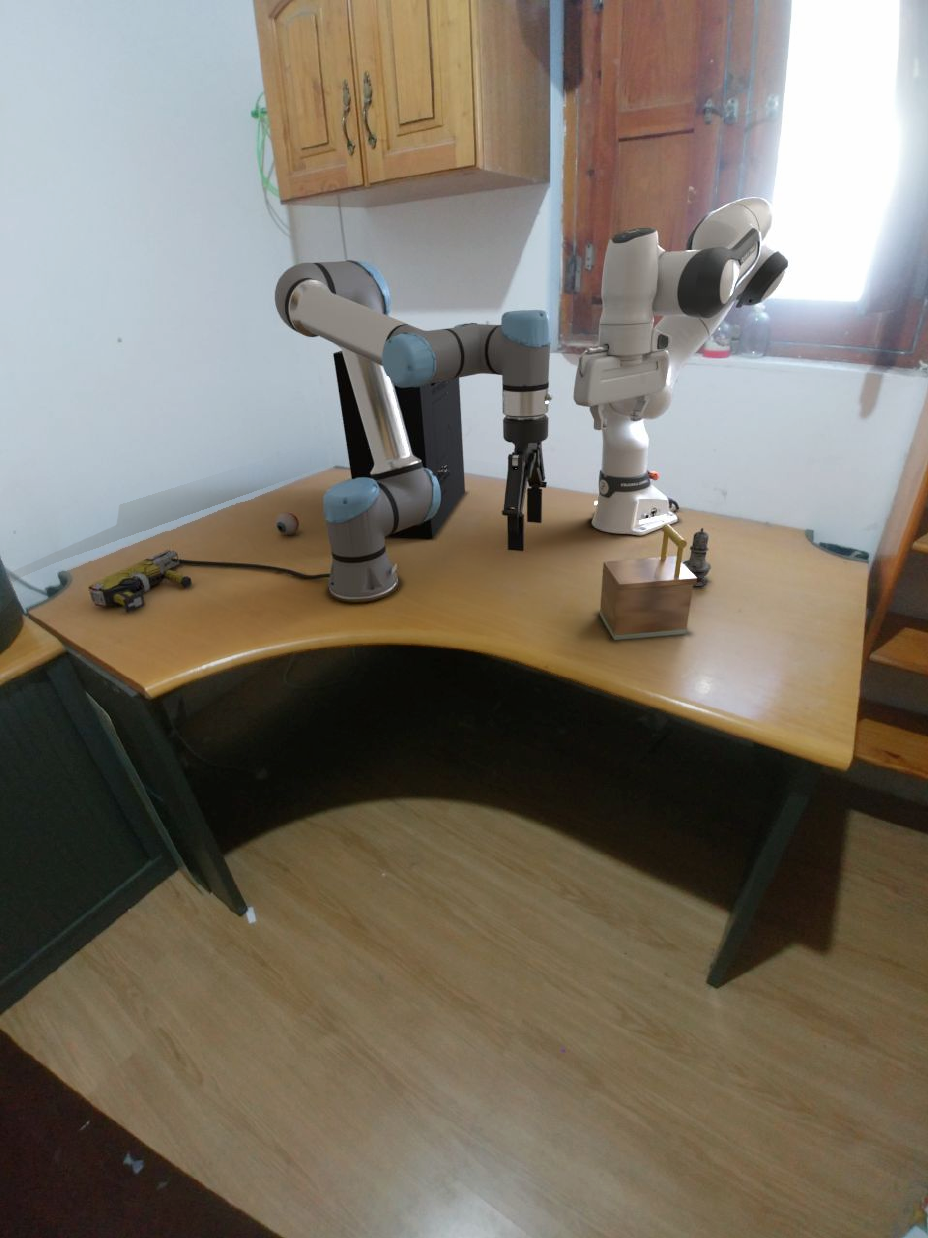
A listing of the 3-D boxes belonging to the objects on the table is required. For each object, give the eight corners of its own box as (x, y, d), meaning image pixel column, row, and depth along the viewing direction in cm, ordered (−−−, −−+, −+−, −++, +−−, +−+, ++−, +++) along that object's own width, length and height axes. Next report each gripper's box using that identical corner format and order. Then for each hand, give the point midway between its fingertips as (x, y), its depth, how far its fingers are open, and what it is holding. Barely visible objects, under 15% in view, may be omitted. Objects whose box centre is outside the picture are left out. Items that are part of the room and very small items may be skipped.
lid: (675, 560, 115) (680, 520, 110) (696, 583, 106) (703, 540, 102) (603, 566, 114) (605, 526, 110) (618, 589, 106) (622, 547, 101)
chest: (666, 608, 120) (672, 561, 115) (685, 633, 111) (693, 583, 106) (599, 614, 119) (602, 566, 114) (614, 640, 111) (618, 590, 106)
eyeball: (273, 537, 164) (268, 516, 161) (287, 528, 169) (282, 508, 166) (291, 539, 161) (286, 518, 158) (305, 530, 166) (301, 510, 163)
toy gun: (215, 558, 145) (165, 547, 149) (137, 600, 125) (81, 586, 129) (218, 575, 148) (168, 564, 152) (142, 619, 128) (87, 605, 131)
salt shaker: (710, 587, 126) (720, 533, 120) (681, 586, 127) (688, 532, 121) (706, 574, 131) (715, 522, 125) (678, 573, 132) (685, 522, 126)
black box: (432, 538, 157) (416, 350, 135) (359, 535, 162) (333, 353, 139) (465, 491, 189) (456, 333, 166) (403, 490, 193) (387, 336, 171)
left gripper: (529, 433, 88) (529, 565, 99) (563, 400, 108) (559, 513, 119) (480, 432, 91) (485, 561, 101) (522, 400, 111) (522, 510, 121)
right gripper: (594, 349, 95) (589, 437, 102) (678, 336, 105) (669, 418, 112) (566, 346, 100) (564, 431, 107) (649, 335, 110) (642, 413, 117)
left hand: (525, 535), depth 110 cm, fingers open, 13 cm apart
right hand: (618, 424), depth 110 cm, fingers open, 8 cm apart
